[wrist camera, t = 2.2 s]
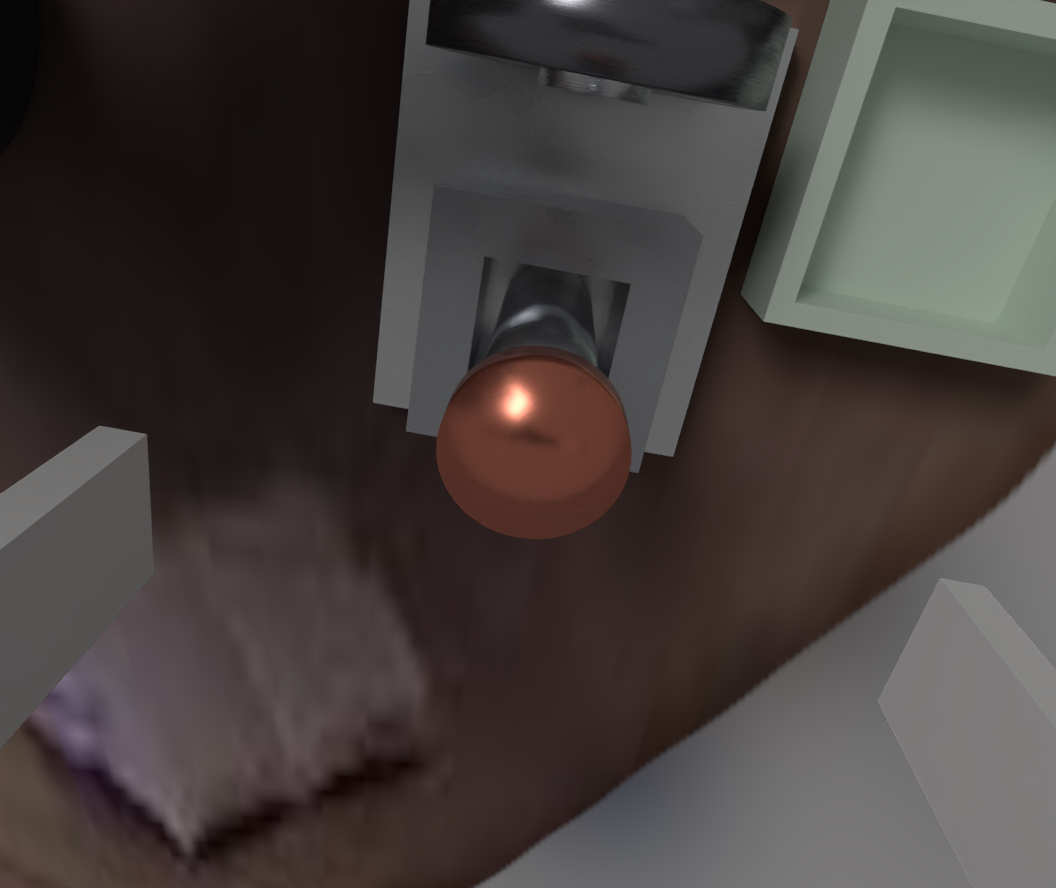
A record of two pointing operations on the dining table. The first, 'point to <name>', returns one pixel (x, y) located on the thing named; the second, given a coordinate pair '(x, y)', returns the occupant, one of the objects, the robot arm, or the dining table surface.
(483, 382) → the pin
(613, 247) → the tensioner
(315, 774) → the dining table surface
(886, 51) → the tray
